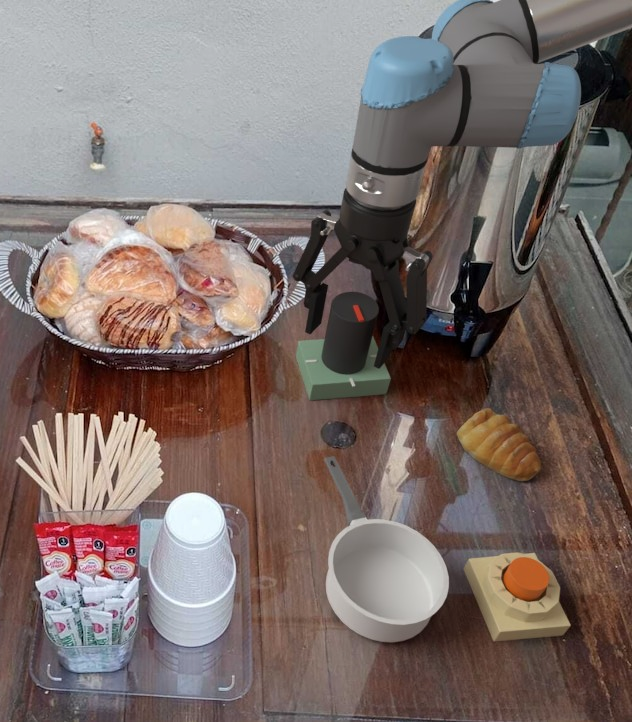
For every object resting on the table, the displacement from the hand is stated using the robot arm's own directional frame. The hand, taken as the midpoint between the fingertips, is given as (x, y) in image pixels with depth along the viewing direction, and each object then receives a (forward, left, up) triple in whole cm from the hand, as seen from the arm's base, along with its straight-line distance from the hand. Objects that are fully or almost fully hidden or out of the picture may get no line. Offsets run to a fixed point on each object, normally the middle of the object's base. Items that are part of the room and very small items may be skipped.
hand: (346, 344), depth 98 cm
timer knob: (0, 0, -3) cm, 3 cm away
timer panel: (0, 0, -6) cm, 6 cm away
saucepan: (+5, +27, -6) cm, 28 cm away
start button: (-9, +33, -2) cm, 34 cm away
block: (-9, +33, -6) cm, 35 cm away
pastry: (-15, +14, -6) cm, 21 cm away
